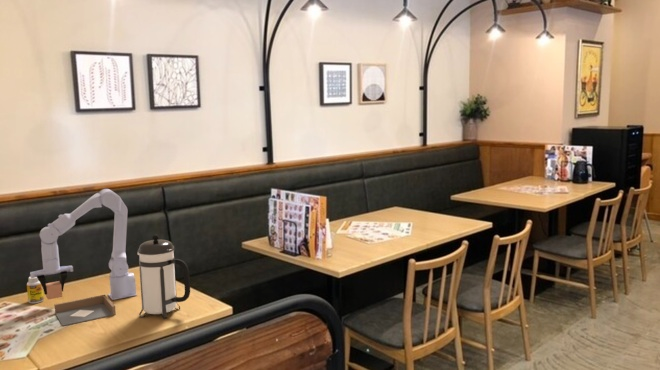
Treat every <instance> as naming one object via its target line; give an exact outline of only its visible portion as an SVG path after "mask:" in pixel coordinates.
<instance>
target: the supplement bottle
mask: <svg viewBox="0 0 660 370" xmlns="http://www.w3.org/2000/svg"><path fill="white" fill-rule="evenodd" d="M26 290H27V291H26V292H27V302H28V303H29V304H40V303H43V301H44V299H45V297H44V296H45V294H44V290H43V287H42V285H41V283H40V281H39V280H38V278H37V277H34V278H31V277H30V276H29V277H28V281H27V283H26Z"/></svg>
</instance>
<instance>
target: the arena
mask: <svg viewBox="0 0 660 370" xmlns="http://www.w3.org/2000/svg"><path fill="white" fill-rule="evenodd" d="M54 314H55V315H57V316H56V317H57V319H58V321H59V322H60V324H61V326H62V327H66V326H70V325H71V326H72V325H75V324H81V323H84V322H89V321H94V320H97V319H98V320H99V319H103V318H107V317H111V316H116V315H117V314H116V305H115V304H114V302H112V301H111V300H110V298H109V297H108V296H107V295H106V294H101V295H95V296H91V297H86V298H81V299H76V300H70V301H66V302H61V303H54Z"/></svg>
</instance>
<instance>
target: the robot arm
mask: <svg viewBox="0 0 660 370" xmlns="http://www.w3.org/2000/svg"><path fill="white" fill-rule="evenodd" d="M103 206H104V207H106V208H108V209H110V210H111V211H112V212H113V213H114V219H113V220H114V221H113V237H112V252H111V257H110V259H109V261H108V269H110V270H111V271H110V273H109V288H110V293H108V294H107V295H108V297H109V299H111V300H112V301H115V300H120V299H124V298H129V297H130V298H131V297H134V296H137V295H138V294H137V289H136V288H137V287H136V286H137V285H136V278H135V274H134V272H129V265H128V262H127V254H126V246H127V230H128V212H129V211H128V207H127V205H126V203H124V201H123V200H122V198H121V196H120V195H118V193H116V192H114V191H113V190H112V189H109V188H103V189H101V190H100V191H99V192H96V193H95V194H93V195H92V196H90V197H89V198H88V199H87V200H86V201H84V202H83V203H82V204H80V205H79V206H78V207H76V209H74V210H73V211H72V212H70V213H64V214H59V215H58V216H57V217H58V218H57V219H55V220H54V221H53V222H51V223H48V224H47V226H45V227H43V228H41V230H40V231H39V235H38V236H39V238H40V243H41V244H40V245H41V248H40V249H41V261H42V269H39V270H35V271H30V273H29V277H31V278H34V277H37V278H38V280H39V281H40V283H41V285H42V287H43V295H44V296H46V294H47V289H46V281H47V280H46V276H50V275H55V274H56V275H57V274H58V276H59V278H58V279H59V282H60V283H61V286H62V292H64V286H65V282H66V280H67V278H68V275H69V273H68V272H70V273H71V272H74V266H73V265H62V266H60V254H59V252H60V251H59V245H58V239H59V236H63V234H65V233H66V232H67V231H69V230H70V229H72V228H73V227H74V226H75V225H76V220H78V219H79V218H81V217H82V216H84V215H86V214H87V213H88V212H89V211H91V210H93V209H95V208H96V209H97V208H98V209H99V208H102V207H103Z"/></svg>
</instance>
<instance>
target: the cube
mask: <svg viewBox="0 0 660 370" xmlns="http://www.w3.org/2000/svg"><path fill="white" fill-rule="evenodd" d="M46 289H47V294H46V295H45V297H46V298H47V300H52V299H58V298H63V291H62V286H61V283H60V280H58V281H57V280H56V281H52V282H48V283H46Z"/></svg>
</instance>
